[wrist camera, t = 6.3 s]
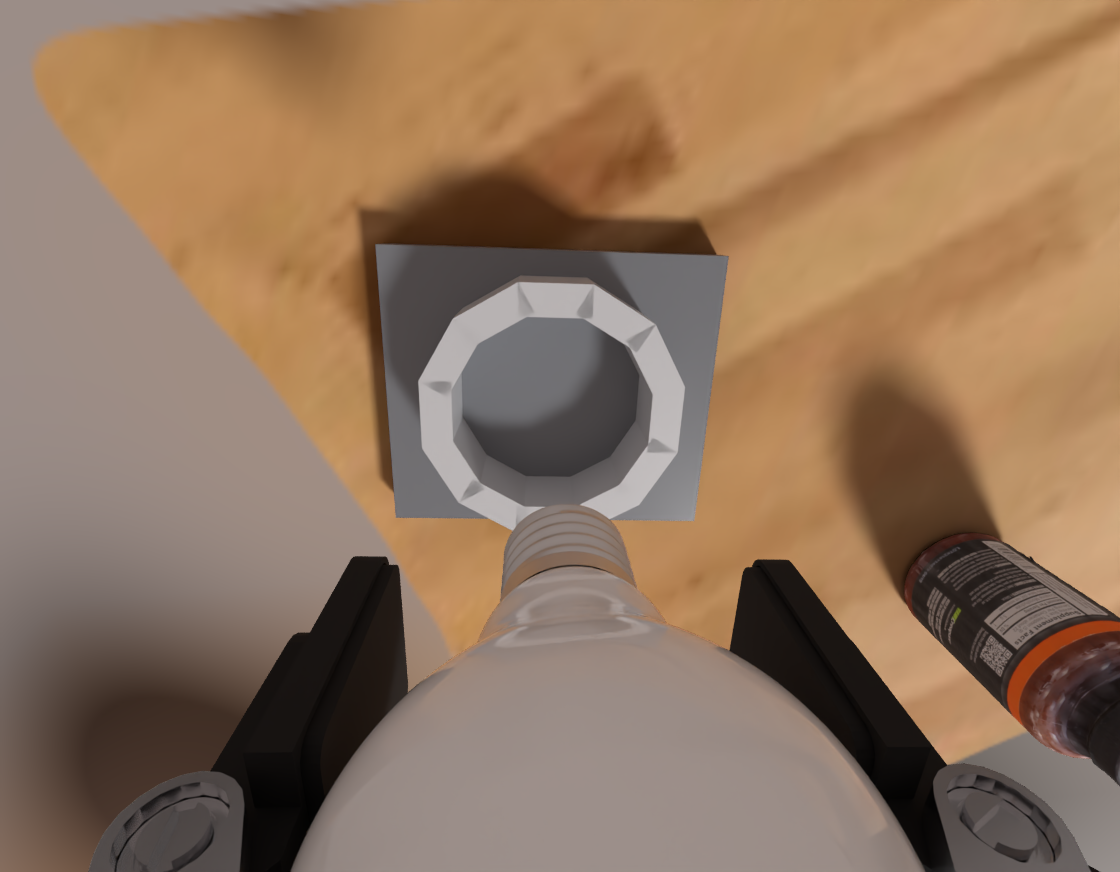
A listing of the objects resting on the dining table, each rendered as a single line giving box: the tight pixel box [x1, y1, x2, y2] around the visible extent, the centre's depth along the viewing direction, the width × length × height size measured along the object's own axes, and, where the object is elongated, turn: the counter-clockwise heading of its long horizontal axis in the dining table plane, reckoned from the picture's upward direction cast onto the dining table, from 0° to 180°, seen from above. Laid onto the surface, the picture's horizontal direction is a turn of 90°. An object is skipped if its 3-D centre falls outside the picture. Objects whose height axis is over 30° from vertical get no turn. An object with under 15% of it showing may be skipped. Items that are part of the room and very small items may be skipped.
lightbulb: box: [290, 504, 926, 872], centre depth 8 cm, size 6×6×11 cm
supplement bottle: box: [904, 533, 1120, 786], centre depth 25 cm, size 6×6×11 cm
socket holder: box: [375, 243, 729, 531], centre depth 24 cm, size 14×12×4 cm
